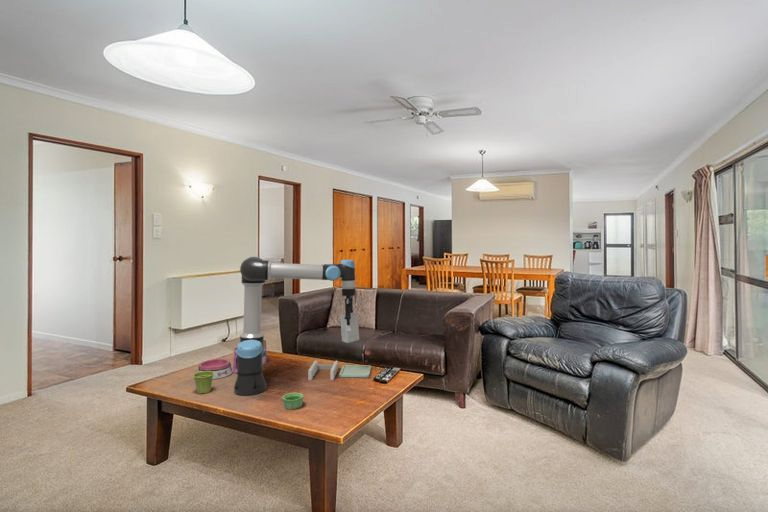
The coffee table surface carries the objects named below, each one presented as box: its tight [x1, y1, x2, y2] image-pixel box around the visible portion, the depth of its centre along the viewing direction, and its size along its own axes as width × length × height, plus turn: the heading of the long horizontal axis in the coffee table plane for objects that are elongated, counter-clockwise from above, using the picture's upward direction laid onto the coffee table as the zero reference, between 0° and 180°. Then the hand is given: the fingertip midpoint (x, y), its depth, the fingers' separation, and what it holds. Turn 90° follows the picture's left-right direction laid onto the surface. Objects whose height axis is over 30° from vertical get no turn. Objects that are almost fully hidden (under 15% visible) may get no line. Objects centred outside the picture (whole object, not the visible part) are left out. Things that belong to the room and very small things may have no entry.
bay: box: [307, 360, 340, 381], centre depth 229 cm, size 20×13×5 cm
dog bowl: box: [197, 358, 234, 381], centre depth 231 cm, size 18×19×7 cm
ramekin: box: [282, 392, 304, 410], centre depth 185 cm, size 9×9×4 cm
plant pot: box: [192, 371, 214, 395], centre depth 204 cm, size 9×9×9 cm
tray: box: [338, 364, 372, 379], centre depth 231 cm, size 18×16×2 cm
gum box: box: [233, 339, 267, 374], centre depth 242 cm, size 24×8×14 cm, turn 166°
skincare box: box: [339, 312, 360, 344], centre depth 230 cm, size 8×6×15 cm
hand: (349, 328), depth 230 cm, fingers closed on skincare box, 9 cm apart
